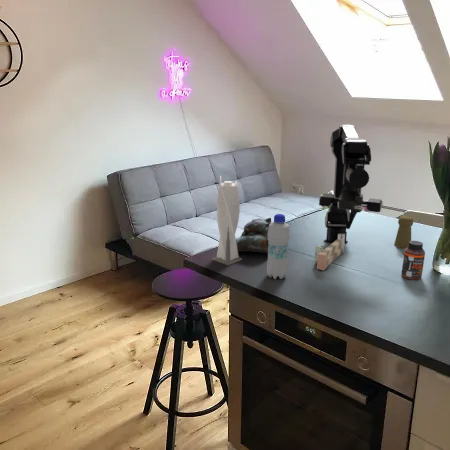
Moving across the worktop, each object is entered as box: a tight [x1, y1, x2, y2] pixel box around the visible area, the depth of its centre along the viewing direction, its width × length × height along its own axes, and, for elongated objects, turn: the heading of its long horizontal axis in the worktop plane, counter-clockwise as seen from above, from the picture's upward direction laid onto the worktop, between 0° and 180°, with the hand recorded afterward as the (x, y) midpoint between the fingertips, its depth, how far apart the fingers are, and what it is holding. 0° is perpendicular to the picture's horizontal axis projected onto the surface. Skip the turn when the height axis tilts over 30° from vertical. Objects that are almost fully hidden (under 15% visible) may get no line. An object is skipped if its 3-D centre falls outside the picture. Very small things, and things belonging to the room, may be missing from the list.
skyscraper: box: [212, 175, 243, 266], centre depth 166 cm, size 8×8×28 cm
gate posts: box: [314, 233, 345, 266], centre depth 170 cm, size 2×16×7 cm, turn 138°
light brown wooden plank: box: [316, 239, 342, 271], centre depth 167 cm, size 17×2×5 cm, turn 149°
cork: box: [393, 215, 414, 250], centre depth 183 cm, size 6×6×11 cm
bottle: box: [266, 213, 291, 280], centre depth 153 cm, size 7×7×20 cm
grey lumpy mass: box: [236, 217, 273, 255], centre depth 176 cm, size 15×12×14 cm
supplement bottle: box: [401, 240, 426, 281], centre depth 155 cm, size 6×6×11 cm
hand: (348, 228), depth 161 cm, fingers closed
